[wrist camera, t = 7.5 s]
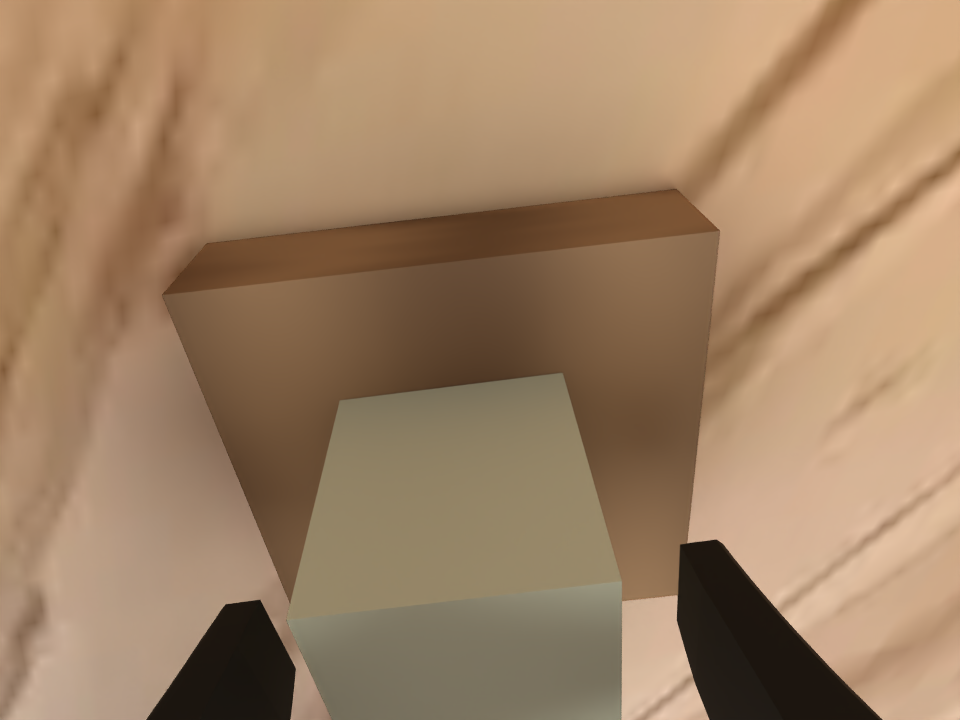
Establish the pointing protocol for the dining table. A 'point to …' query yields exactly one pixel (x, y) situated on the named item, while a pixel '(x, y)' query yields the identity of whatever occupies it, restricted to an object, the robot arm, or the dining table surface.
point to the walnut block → (466, 348)
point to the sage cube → (460, 561)
